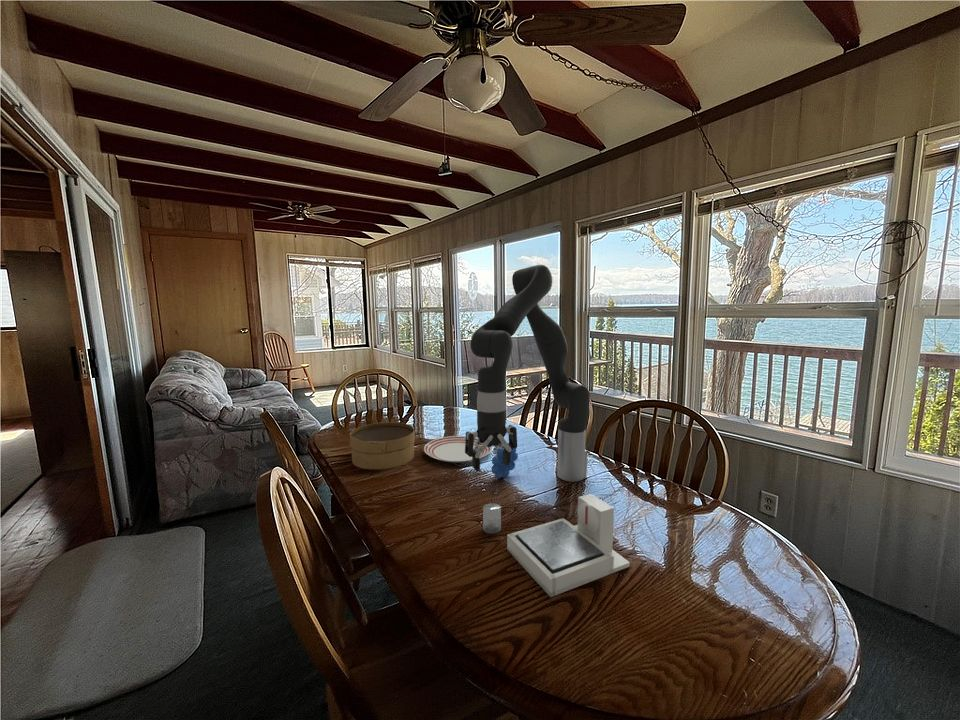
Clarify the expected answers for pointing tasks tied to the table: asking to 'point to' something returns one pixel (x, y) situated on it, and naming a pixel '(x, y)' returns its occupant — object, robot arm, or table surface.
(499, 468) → the grapes
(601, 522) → the scale
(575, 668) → the table surface
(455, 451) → the dinner plate
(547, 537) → the scale pan
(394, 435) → the steamer basket
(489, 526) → the cylinder
